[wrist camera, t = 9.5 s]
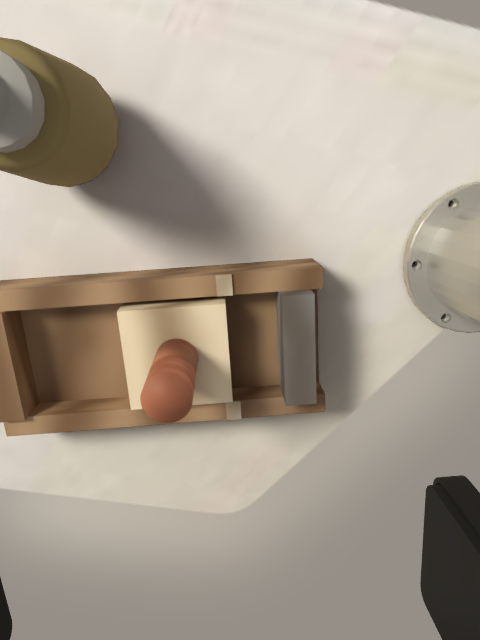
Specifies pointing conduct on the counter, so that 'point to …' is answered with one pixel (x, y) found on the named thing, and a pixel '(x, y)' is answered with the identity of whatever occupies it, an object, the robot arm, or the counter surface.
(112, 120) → the squeeze bottle
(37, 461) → the counter surface
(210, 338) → the carriage
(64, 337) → the base
